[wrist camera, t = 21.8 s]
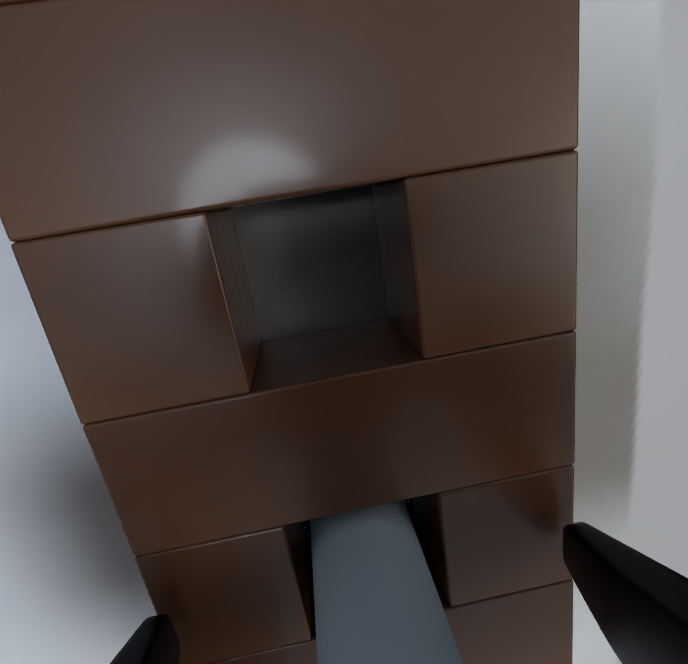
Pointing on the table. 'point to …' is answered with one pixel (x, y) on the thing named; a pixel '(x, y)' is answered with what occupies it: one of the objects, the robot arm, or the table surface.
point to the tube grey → (376, 591)
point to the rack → (324, 346)
